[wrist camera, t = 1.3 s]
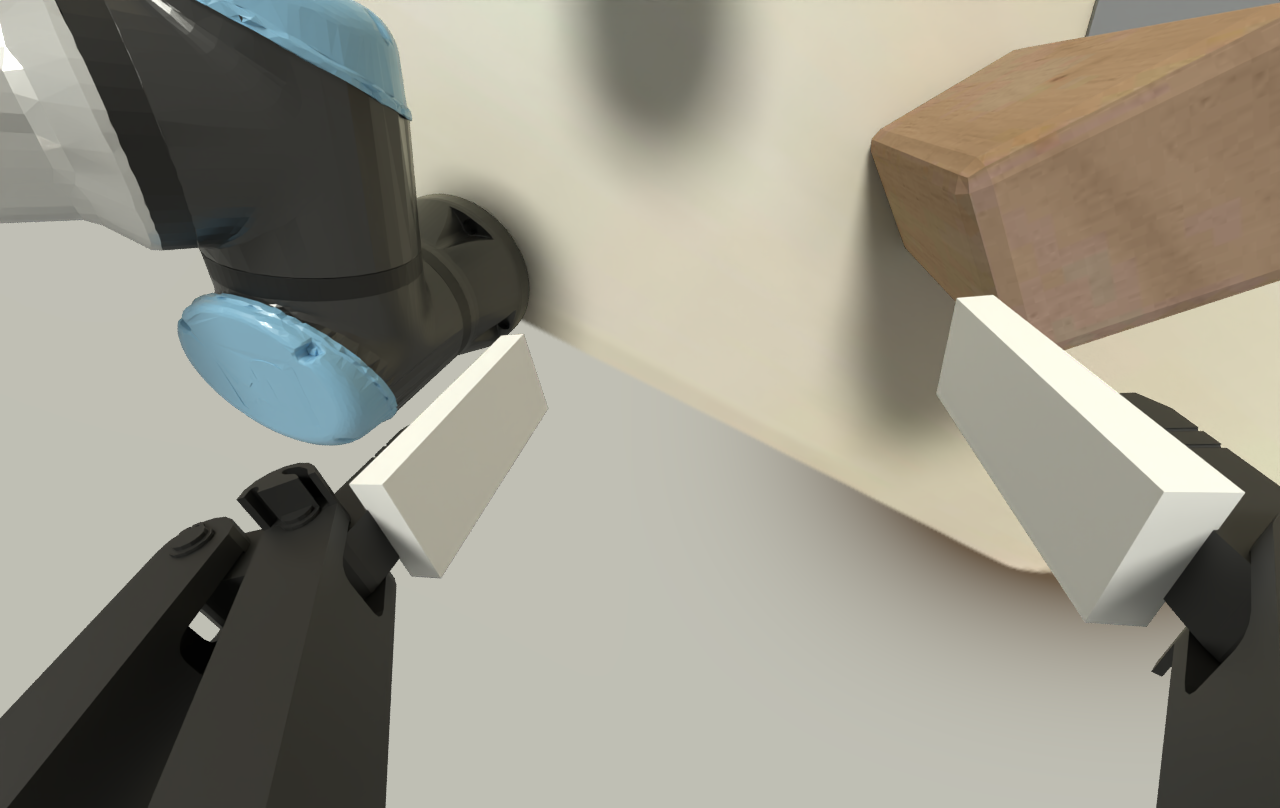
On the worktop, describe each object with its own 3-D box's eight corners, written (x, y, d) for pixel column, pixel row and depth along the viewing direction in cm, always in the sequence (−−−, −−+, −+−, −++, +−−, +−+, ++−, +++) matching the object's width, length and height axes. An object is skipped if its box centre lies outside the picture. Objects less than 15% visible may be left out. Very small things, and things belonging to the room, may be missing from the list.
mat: (1021, 260, 36) (1023, 261, 36) (1096, -1, 28) (1099, -2, 27) (1362, 229, 31) (1367, 230, 31) (1578, -100, 23) (1587, -102, 23)
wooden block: (1025, 40, 29) (1351, -27, 13) (1054, 186, 33) (1336, 273, 17) (863, 136, 34) (956, 175, 18) (905, 254, 37) (1014, 375, 21)
